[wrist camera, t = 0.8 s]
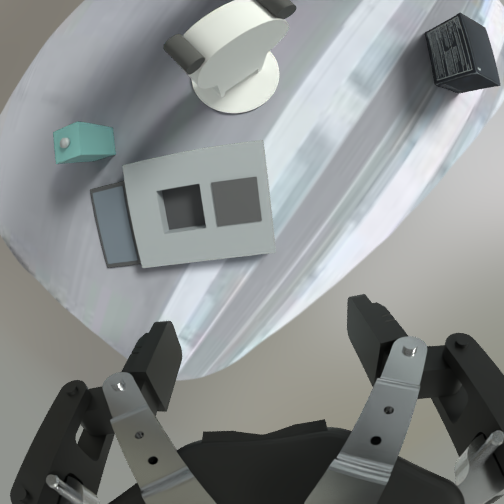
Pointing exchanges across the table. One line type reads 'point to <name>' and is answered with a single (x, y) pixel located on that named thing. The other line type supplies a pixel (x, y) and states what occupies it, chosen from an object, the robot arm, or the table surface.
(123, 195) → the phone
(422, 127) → the table surface
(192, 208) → the plate
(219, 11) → the white curved stand
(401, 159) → the table surface
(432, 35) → the small box
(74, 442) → the robot arm
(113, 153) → the teal knobbed block
